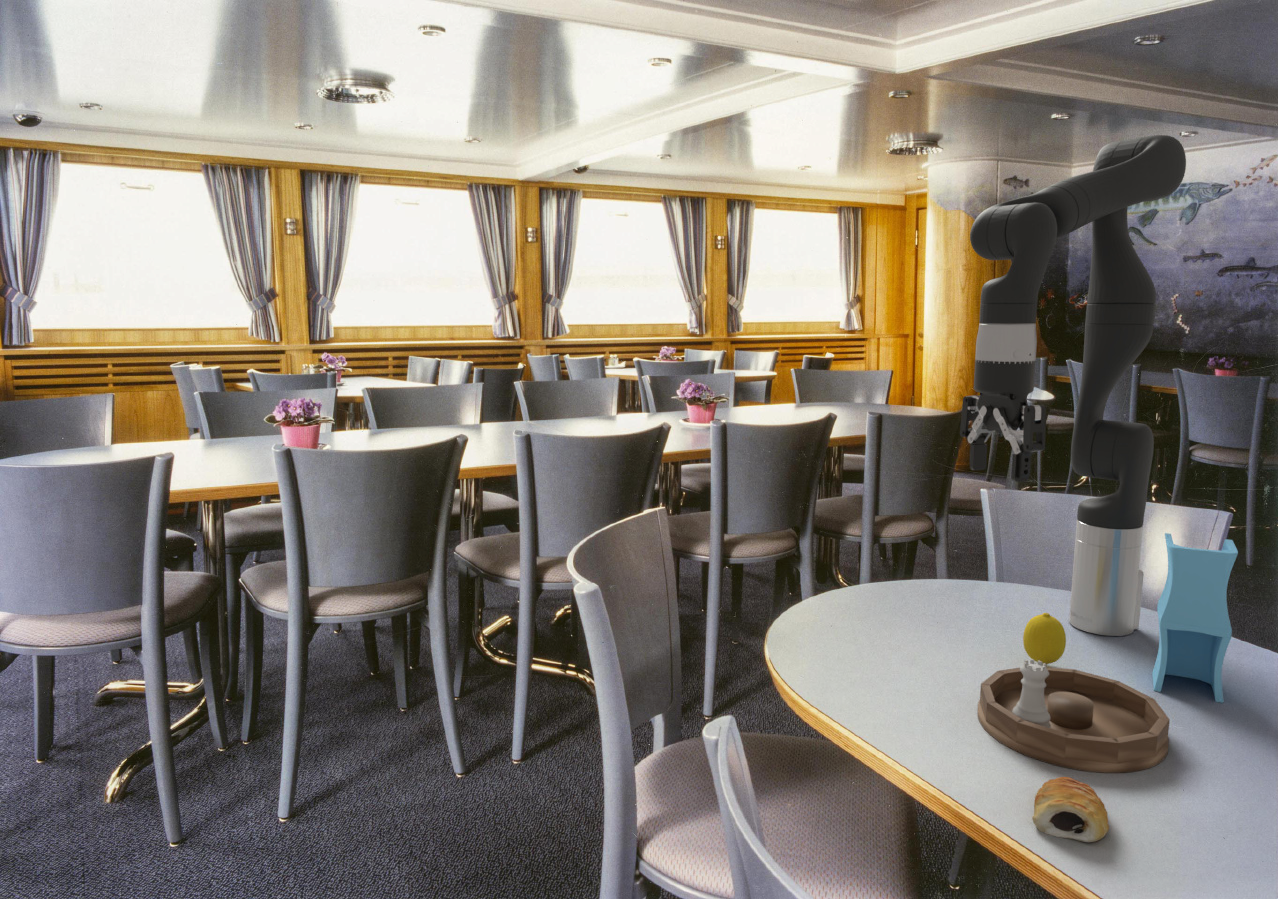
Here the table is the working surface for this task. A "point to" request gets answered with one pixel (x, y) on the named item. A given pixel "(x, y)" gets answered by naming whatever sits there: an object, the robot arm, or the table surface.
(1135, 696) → the ring tray
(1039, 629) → the lemon
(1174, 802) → the table surface
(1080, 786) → the pastry
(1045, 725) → the rook chess piece
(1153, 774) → the table surface
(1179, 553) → the blue wavy stand
